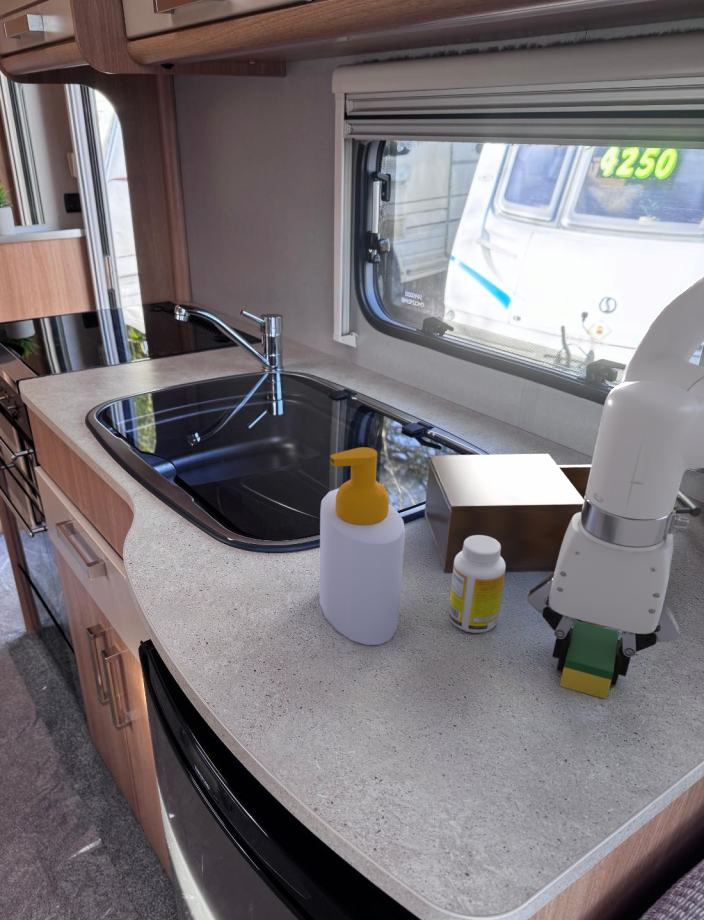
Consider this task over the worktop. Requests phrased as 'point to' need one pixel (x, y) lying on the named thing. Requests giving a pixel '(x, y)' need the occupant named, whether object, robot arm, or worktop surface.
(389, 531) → the soap bottle
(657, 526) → the robot arm
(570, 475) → the drawer
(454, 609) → the supplement bottle
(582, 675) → the sponge
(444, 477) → the cabinet
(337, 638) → the worktop surface
